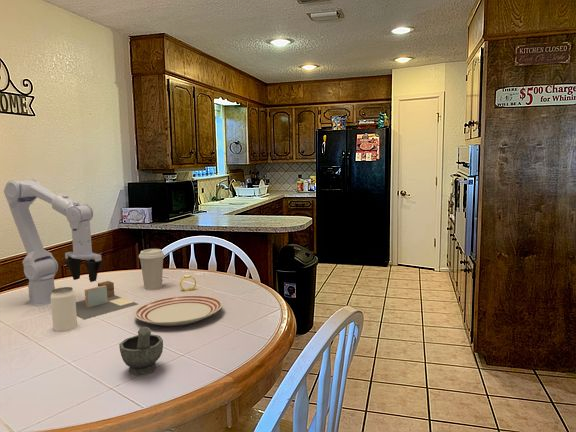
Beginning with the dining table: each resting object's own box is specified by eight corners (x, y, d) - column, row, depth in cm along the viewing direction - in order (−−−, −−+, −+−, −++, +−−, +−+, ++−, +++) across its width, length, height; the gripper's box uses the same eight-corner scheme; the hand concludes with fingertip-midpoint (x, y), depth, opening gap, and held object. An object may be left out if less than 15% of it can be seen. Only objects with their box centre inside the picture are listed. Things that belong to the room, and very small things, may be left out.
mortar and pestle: (119, 366, 107) (115, 318, 105) (158, 357, 111) (155, 311, 110) (126, 386, 97) (123, 334, 96) (169, 375, 102) (166, 325, 100)
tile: (85, 307, 151) (84, 289, 150) (105, 301, 156) (104, 285, 155) (88, 308, 149) (86, 290, 149) (108, 302, 155) (106, 286, 154)
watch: (181, 292, 167) (179, 277, 166) (180, 290, 170) (178, 275, 169) (197, 290, 169) (195, 275, 168) (196, 288, 172) (194, 273, 171)
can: (67, 333, 128) (64, 293, 127) (48, 332, 130) (44, 292, 128) (82, 325, 135) (79, 287, 133) (63, 324, 136) (60, 286, 135)
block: (98, 296, 162) (97, 283, 162) (109, 293, 165) (108, 280, 165) (104, 298, 160) (103, 285, 159) (114, 295, 163) (113, 282, 162)
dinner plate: (118, 318, 141) (117, 308, 140) (190, 297, 161) (190, 288, 160) (165, 340, 122) (164, 329, 122) (240, 314, 142) (239, 304, 142)
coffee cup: (155, 283, 179) (153, 247, 177) (171, 287, 174) (169, 249, 172) (135, 289, 172) (133, 251, 170) (150, 293, 166) (148, 254, 164)
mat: (57, 307, 151) (57, 306, 151) (110, 294, 166) (110, 293, 166) (84, 320, 138) (84, 319, 138) (139, 305, 153) (139, 303, 153)
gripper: (56, 241, 148) (59, 281, 150) (88, 244, 142) (91, 285, 144) (73, 238, 154) (76, 276, 156) (105, 240, 149) (107, 279, 151)
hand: (84, 280), depth 151 cm, fingers open, 7 cm apart
